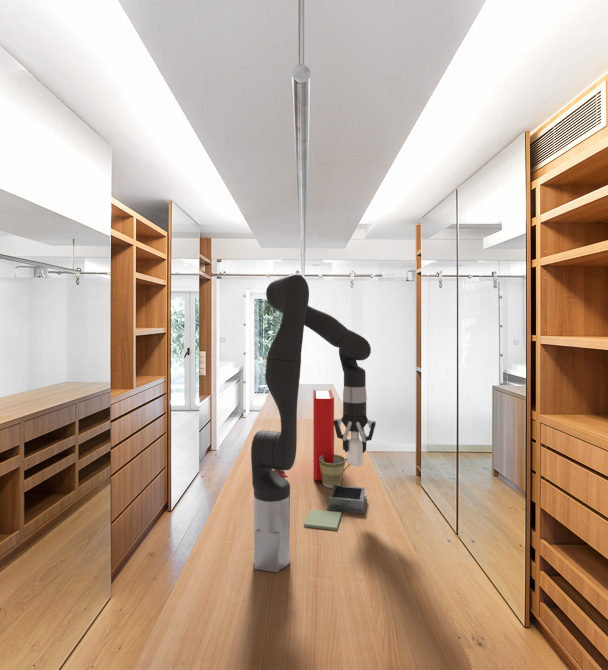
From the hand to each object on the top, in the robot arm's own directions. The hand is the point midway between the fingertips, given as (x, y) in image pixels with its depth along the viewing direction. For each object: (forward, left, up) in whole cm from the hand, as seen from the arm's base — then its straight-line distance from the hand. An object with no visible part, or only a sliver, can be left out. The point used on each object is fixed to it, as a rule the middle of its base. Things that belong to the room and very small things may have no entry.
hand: (354, 451), depth 127 cm
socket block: (+5, +3, -20) cm, 21 cm away
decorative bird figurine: (+16, +30, -20) cm, 39 cm away
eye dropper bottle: (0, 0, -4) cm, 4 cm away
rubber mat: (-8, +9, -20) cm, 23 cm away
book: (+36, +17, -20) cm, 45 cm away
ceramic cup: (+22, +10, -20) cm, 31 cm away
